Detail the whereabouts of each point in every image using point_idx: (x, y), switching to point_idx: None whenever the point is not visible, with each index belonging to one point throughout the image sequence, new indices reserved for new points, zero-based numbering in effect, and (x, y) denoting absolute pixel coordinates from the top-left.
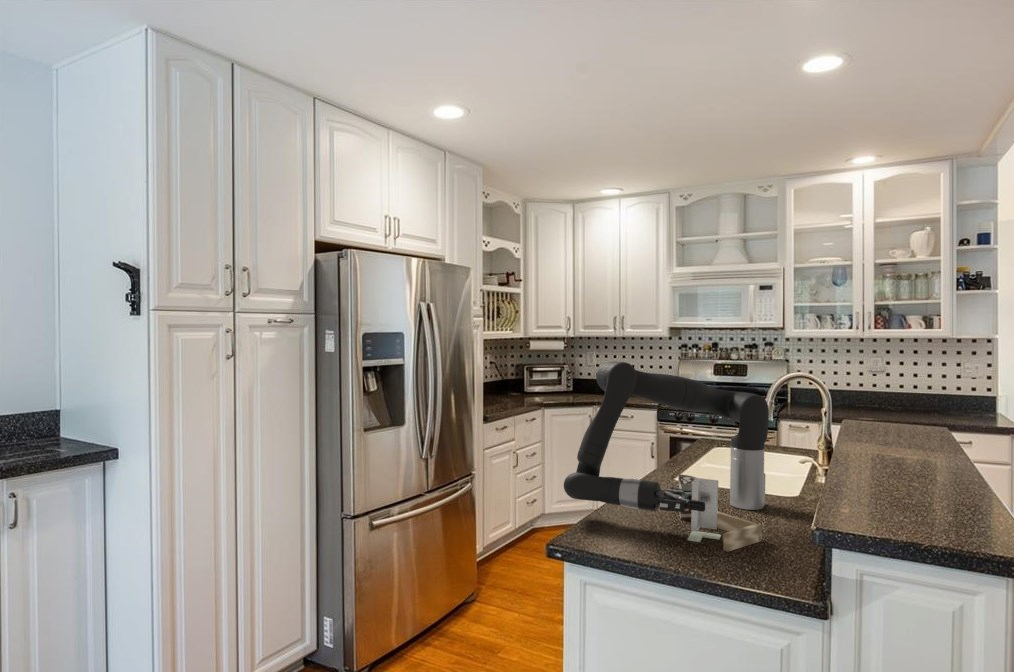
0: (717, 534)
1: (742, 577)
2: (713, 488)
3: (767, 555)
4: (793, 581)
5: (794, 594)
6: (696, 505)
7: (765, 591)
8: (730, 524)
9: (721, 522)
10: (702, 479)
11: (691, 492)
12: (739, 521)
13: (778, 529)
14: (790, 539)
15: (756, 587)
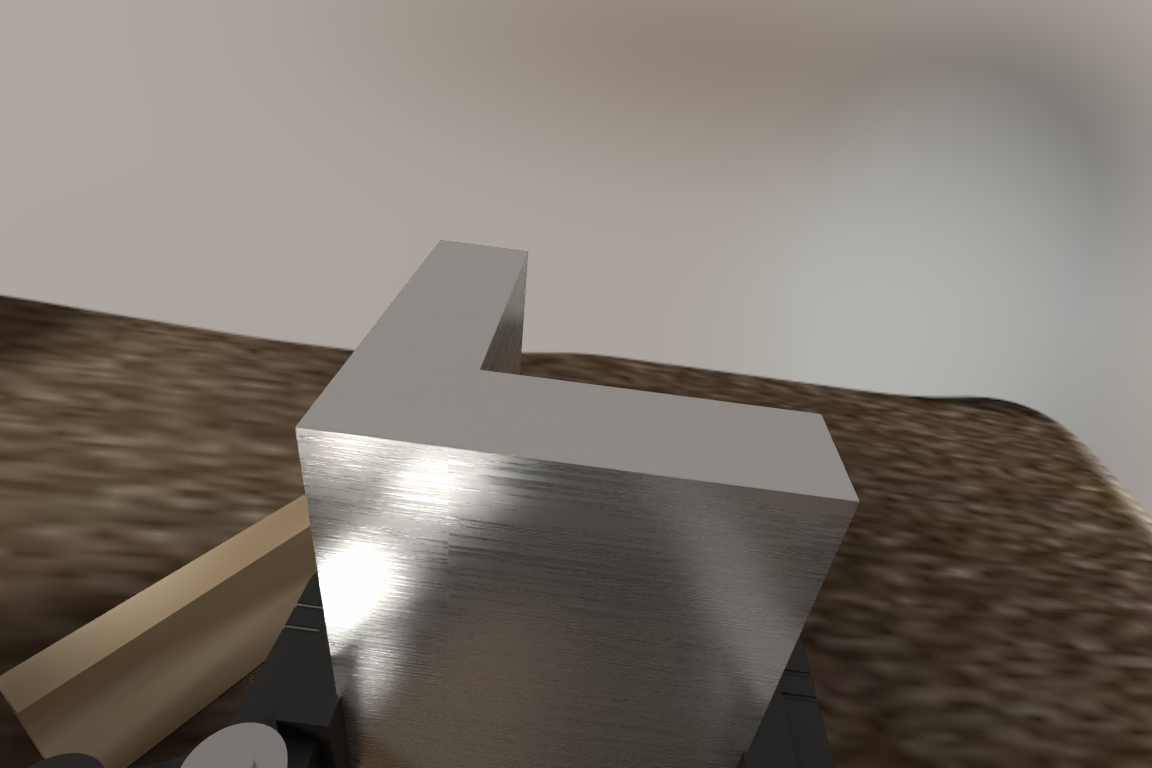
0: None
1: (1096, 599)
2: (515, 369)
3: None
4: (931, 439)
5: (1057, 453)
6: (810, 699)
7: (1146, 528)
8: (314, 573)
9: (228, 639)
10: (448, 351)
11: (224, 761)
12: None
13: (240, 397)
14: None
15: (1146, 554)
